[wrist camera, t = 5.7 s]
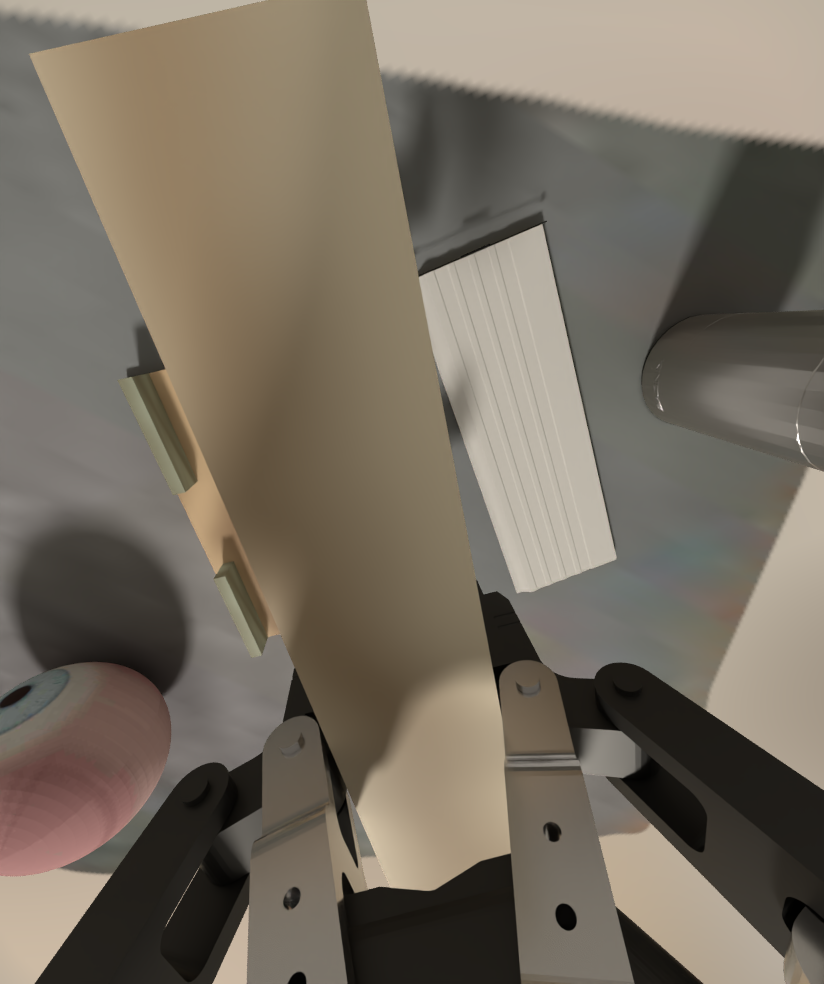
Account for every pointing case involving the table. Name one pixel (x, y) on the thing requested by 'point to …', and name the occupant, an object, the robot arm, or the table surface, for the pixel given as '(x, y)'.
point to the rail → (308, 385)
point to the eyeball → (76, 761)
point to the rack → (200, 502)
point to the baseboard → (519, 407)
